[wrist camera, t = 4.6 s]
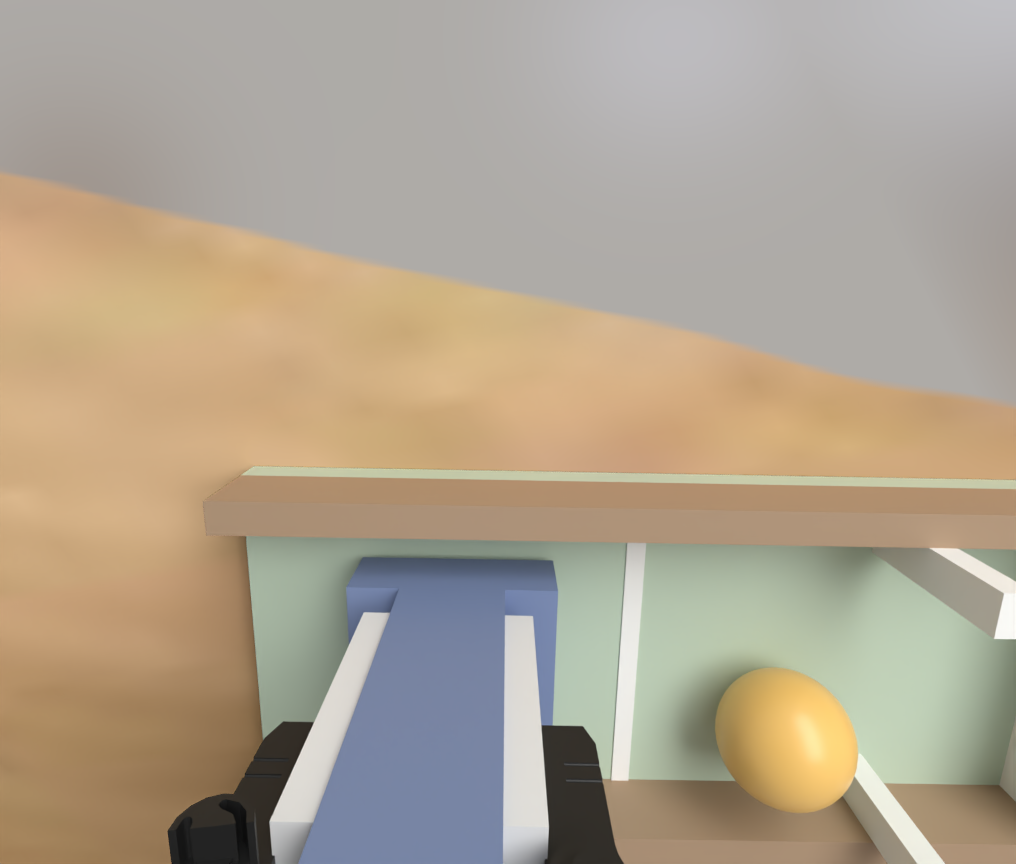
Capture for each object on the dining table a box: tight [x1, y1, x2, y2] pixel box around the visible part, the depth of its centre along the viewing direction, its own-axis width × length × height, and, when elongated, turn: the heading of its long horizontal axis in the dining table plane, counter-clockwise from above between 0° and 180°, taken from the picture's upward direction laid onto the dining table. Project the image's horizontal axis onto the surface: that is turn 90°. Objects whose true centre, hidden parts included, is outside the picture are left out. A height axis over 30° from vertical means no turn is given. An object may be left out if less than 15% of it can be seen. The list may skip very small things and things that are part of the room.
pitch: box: [203, 466, 1016, 864], centre depth 18 cm, size 27×12×6 cm, turn 89°
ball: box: [715, 667, 858, 813], centre depth 19 cm, size 4×4×4 cm
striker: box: [298, 557, 558, 864], centre depth 13 cm, size 6×7×14 cm
